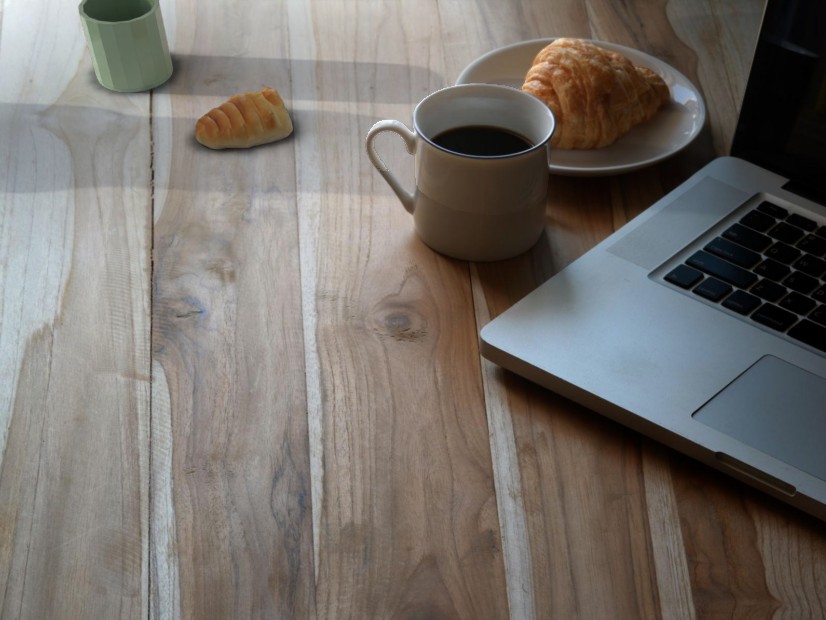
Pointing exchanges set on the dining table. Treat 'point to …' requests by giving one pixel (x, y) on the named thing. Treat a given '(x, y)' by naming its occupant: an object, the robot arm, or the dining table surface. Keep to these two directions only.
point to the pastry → (245, 121)
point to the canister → (127, 43)
